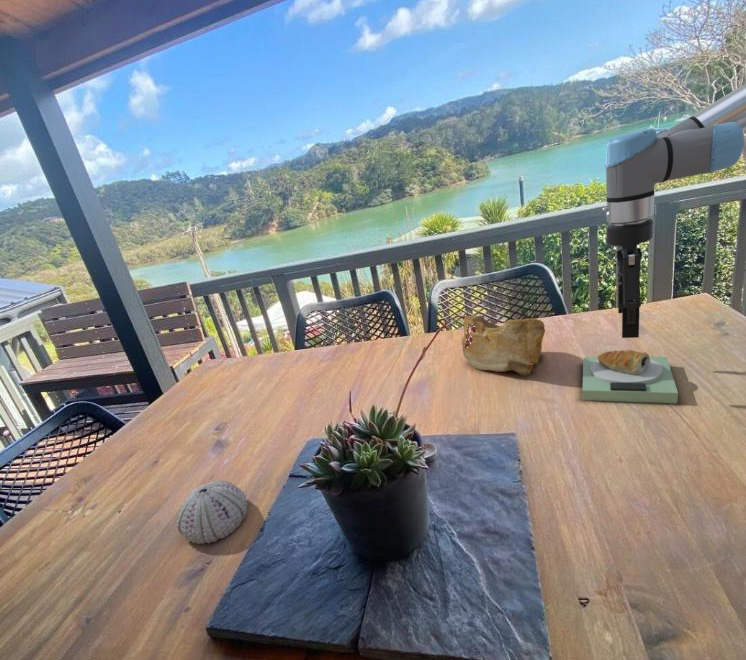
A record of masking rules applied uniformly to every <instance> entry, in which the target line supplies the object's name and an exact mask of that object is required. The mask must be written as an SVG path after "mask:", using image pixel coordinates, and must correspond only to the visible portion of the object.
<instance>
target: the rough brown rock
mask: <svg viewBox="0 0 746 660" xmlns="http://www.w3.org/2000/svg"><path fill="white" fill-rule="evenodd" d="M467 324H471V325H474V326H475V328H476V332H475V333H473V332H472V331H471V332H470V335H471V336H472V338H473V341H472V343H471V344H470V345H469V347H468V348H465V347H464V345H465V342H466V332H467V329H468V328H467ZM545 333H546V329H545V323H544V322H543V321H542V320H540V319H538V318H533V317H532V318H524V319H518V318H517V319H516V318H515V319H508V320H506V321H504V323H503V325H501V326H500V325H498V324H496V323H494V322H491V321H488V320H487V319H486V318H484V317H483V316H482V315H473V314H471V315H468V316H465V317H464V318H463V336H462V338H461V347H462V353H463V356H464V358H465V359H466V361H467V362H468V364H469V365H471V366H472V367H473V368H474V369H477V370H480V371H492V372H498V373H502V372H504V373H505V372H508V371H511V372H515V373H516V374H518V375H520V376H525V377H527V376H530V375H531V372H532V370H533V369H534V365H535V364H538V363H539V360H540V358H541V353H542V349H543V346H542V345H543V340H544V335H545Z"/></svg>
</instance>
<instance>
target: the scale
mask: <svg viewBox="0 0 746 660" xmlns="http://www.w3.org/2000/svg"><path fill="white" fill-rule="evenodd" d="M597 357H598V356H584V357H583V358H582V363H583V365H582V401H599V402H624V403H625V402H627V403H628V402H629V403H655V404H657V403H658V404H678V401H679V400H678V399H679V392H678V388H677V386H676V381H675V378H674V376H673V373H672V370H671V367H670V363H669V359H668V357H667V356H649V357H650V365H649V366H647V367H646V368H645V369H644V371H643V372H642V373H640V374H639V375H630V374H626V373H624V372H623V373H621V372H617V371H615V370H611V369H609V368H606V367H605V366H602V365H601V364H600V363H599V360H598V358H597Z"/></svg>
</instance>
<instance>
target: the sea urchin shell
mask: <svg viewBox="0 0 746 660" xmlns="http://www.w3.org/2000/svg"><path fill="white" fill-rule="evenodd" d="M246 496H247V494H245V491H243V490H241V487H238V486H236V484H235V483H234V484H233V482H230V481H226V480H214V481H212V482H209V483H205V484H204V483H203V484H200V485H199V486H197V487H195V488H194V489H193V490H192V491H190V492H189V493H188V495H187V497H186V499H185V500H184V501H183V502H182V505H181V506H180V509H179V510H178V511H179V512H178V514H177V520H176V522H175V523H176V528H177V532H179V534H180V535H181V536H182V537H183V538H185V539H186V541H190V542H191V543H192V544H197V545H200V544H201V545H205V544H206V543H207V544H209V545H210V544H211V543H215V542H217V541H218V540H220V539H225V538H226V537H229V535H230V534H232V533H234V532H235V530H237V528H238V527H239V526H241V523H242V522H243V521H244V520H245V518H246V515H247V513H248V510H247V509H248V502H247V501H248V499H247V497H246Z"/></svg>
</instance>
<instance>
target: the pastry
mask: <svg viewBox="0 0 746 660" xmlns="http://www.w3.org/2000/svg"><path fill="white" fill-rule="evenodd" d="M596 357H597V358H598V360H599V363H600V364H601V365H602V366H605V367H606V368H609V369H611V370H615V371H617V372H621V373H623V372H624V373H626V374H630V375H639V374H640V373H642V372H643V371H644V369H645V368H646V367H647V366H649V365H650V357H651V356H650V355H649V354H648V352H646V351H645V352H641V351H637V350H633V349H626V350H621V349H620V350H612V351H611V350H609V351H605V352H603V353H601V354H599V355H597V356H596Z"/></svg>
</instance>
